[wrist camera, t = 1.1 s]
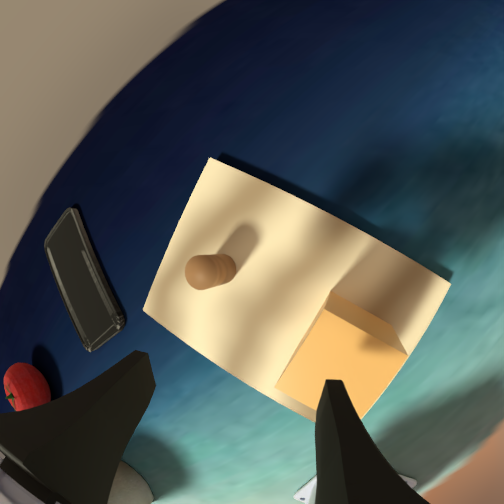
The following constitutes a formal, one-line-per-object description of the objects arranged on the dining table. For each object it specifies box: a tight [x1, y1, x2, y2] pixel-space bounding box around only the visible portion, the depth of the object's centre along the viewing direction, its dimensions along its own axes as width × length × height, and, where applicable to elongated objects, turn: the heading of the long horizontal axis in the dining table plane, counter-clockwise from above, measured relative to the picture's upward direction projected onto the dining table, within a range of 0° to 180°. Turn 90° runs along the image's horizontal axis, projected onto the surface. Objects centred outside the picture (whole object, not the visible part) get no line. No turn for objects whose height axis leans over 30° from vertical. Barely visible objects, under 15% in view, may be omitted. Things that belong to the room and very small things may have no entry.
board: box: [143, 158, 451, 423], centre depth 19 cm, size 20×14×4 cm
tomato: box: [3, 363, 51, 411], centre depth 29 cm, size 9×9×8 cm
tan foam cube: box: [274, 291, 408, 419], centre depth 16 cm, size 5×5×6 cm
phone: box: [44, 208, 125, 352], centre depth 28 cm, size 8×1×15 cm
